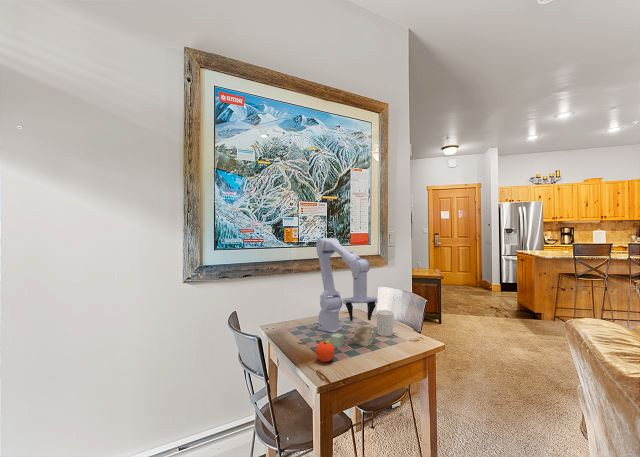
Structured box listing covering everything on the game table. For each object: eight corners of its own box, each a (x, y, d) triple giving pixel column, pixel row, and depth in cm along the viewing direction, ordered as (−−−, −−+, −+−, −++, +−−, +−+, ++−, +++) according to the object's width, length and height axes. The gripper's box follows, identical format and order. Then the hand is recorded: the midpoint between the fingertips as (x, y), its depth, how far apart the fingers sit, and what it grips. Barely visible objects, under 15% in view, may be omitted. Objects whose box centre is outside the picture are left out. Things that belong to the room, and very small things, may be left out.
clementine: (325, 354, 113) (325, 335, 113) (340, 359, 109) (339, 340, 109) (311, 361, 107) (311, 342, 107) (326, 367, 103) (326, 346, 103)
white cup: (394, 337, 130) (394, 315, 130) (376, 336, 132) (376, 314, 132) (393, 331, 138) (393, 310, 138) (376, 330, 140) (376, 309, 140)
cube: (330, 345, 122) (330, 335, 122) (335, 342, 125) (335, 333, 125) (339, 347, 120) (338, 337, 120) (343, 344, 123) (343, 334, 123)
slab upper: (354, 337, 123) (354, 330, 123) (358, 333, 129) (358, 326, 129) (368, 339, 121) (368, 332, 121) (371, 334, 126) (371, 327, 126)
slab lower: (353, 344, 124) (353, 336, 124) (359, 339, 129) (359, 332, 129) (366, 347, 121) (366, 339, 121) (372, 342, 126) (372, 335, 126)
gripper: (344, 290, 120) (345, 323, 120) (379, 289, 121) (379, 322, 121) (341, 287, 127) (342, 318, 127) (374, 286, 128) (374, 317, 128)
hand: (360, 320), depth 124 cm, fingers open, 7 cm apart
